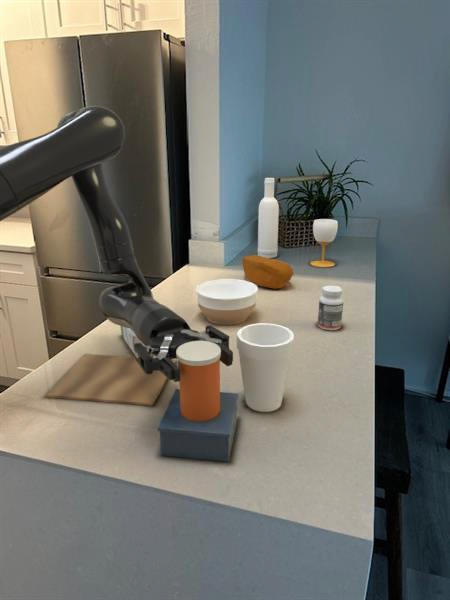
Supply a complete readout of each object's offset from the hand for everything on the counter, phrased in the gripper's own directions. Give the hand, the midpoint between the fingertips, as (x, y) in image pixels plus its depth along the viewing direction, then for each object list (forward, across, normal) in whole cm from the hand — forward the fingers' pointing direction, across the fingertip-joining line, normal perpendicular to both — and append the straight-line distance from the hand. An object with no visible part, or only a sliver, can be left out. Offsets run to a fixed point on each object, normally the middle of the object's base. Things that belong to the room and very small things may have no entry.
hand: (205, 367), depth 61 cm
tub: (-2, 0, +8) cm, 8 cm away
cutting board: (-26, -6, +13) cm, 30 cm away
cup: (-65, +86, +13) cm, 109 cm away
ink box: (-44, +6, +10) cm, 46 cm away
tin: (-2, 0, +13) cm, 13 cm away
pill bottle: (-22, +47, +13) cm, 54 cm away
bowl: (-41, +29, +13) cm, 52 cm away
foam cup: (-4, +14, +13) cm, 20 cm away
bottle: (-86, +76, +13) cm, 116 cm away
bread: (-59, +56, +13) cm, 83 cm away
